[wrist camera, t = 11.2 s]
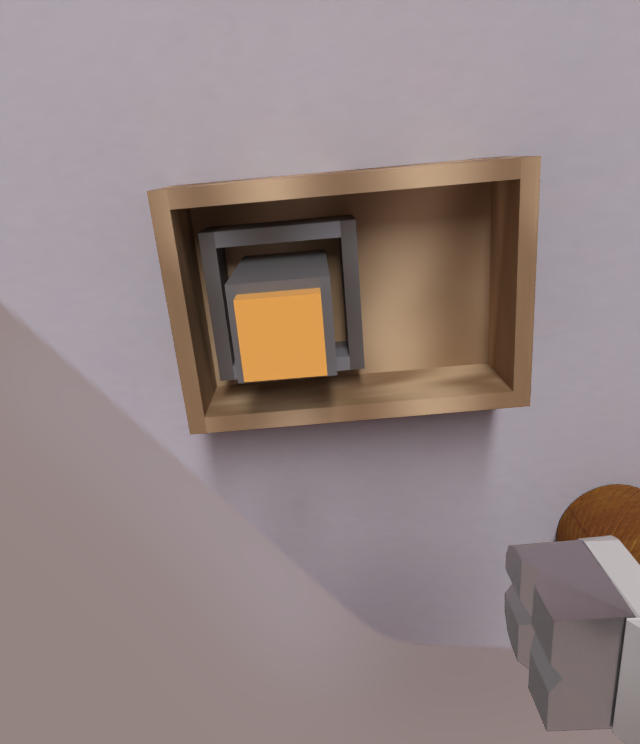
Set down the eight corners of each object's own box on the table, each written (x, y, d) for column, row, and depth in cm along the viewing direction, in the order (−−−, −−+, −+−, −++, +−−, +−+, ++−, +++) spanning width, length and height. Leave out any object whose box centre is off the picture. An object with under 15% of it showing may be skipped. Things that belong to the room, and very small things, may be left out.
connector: (325, 249, 29) (331, 281, 21) (331, 327, 30) (338, 384, 22) (243, 256, 29) (220, 291, 21) (253, 334, 30) (235, 392, 22)
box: (502, 156, 28) (541, 156, 24) (497, 369, 32) (529, 405, 27) (173, 185, 28) (146, 191, 24) (207, 394, 32) (190, 434, 27)
